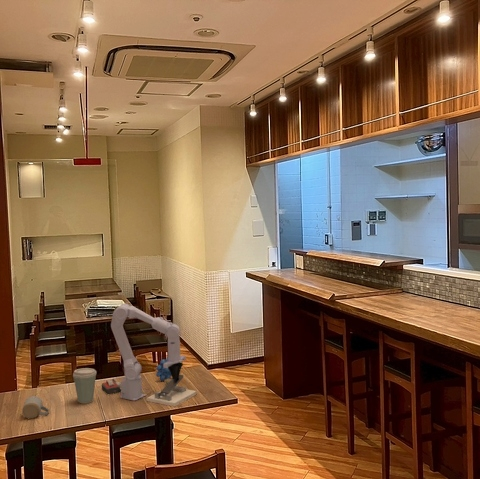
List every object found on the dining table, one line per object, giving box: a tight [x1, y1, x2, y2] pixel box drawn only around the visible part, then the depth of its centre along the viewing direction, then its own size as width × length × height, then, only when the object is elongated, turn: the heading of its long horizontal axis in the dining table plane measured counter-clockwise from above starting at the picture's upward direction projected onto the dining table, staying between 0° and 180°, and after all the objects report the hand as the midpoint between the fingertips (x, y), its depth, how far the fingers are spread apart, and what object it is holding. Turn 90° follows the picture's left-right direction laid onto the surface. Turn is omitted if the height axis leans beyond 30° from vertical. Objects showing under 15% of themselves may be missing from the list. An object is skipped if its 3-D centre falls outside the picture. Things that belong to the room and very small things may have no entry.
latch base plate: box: [146, 383, 198, 407], centre depth 240 cm, size 16×17×4 cm
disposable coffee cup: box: [72, 367, 97, 405], centre depth 239 cm, size 11×11×15 cm
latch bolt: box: [163, 378, 172, 384], centre depth 248 cm, size 4×3×1 cm
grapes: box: [155, 357, 172, 381], centre depth 266 cm, size 12×7×12 cm, turn 114°
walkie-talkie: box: [101, 378, 121, 395], centre depth 257 cm, size 9×4×20 cm
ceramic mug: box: [21, 395, 50, 419], centre depth 224 cm, size 11×8×8 cm
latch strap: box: [159, 374, 184, 397], centre depth 239 cm, size 15×4×1 cm, turn 149°
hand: (175, 378), depth 242 cm, fingers closed
